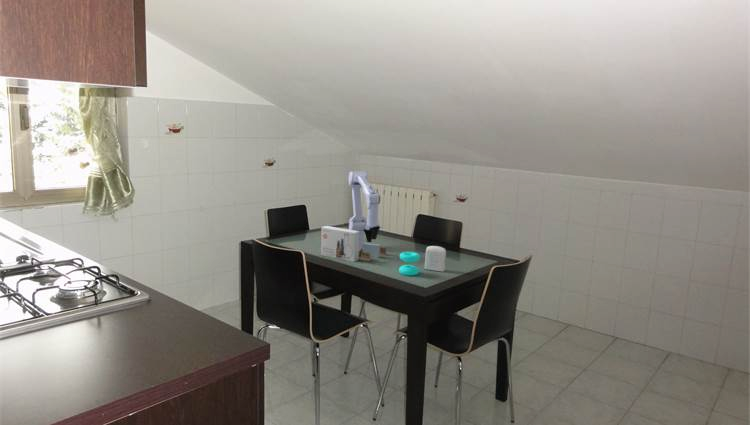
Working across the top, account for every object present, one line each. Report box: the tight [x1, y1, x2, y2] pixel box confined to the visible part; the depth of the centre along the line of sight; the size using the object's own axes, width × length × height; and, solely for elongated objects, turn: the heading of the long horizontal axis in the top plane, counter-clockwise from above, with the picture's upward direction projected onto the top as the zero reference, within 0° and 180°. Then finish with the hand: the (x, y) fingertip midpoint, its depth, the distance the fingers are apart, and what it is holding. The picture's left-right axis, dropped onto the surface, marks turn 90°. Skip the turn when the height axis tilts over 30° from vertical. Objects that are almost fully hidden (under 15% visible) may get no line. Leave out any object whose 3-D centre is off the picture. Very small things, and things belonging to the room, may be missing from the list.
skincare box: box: [320, 225, 360, 262], centre depth 287 cm, size 21×5×16 cm, turn 62°
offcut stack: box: [360, 251, 372, 261], centre depth 286 cm, size 2×5×4 cm, turn 70°
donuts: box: [398, 251, 421, 277], centre depth 264 cm, size 10×10×10 cm
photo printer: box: [424, 245, 447, 273], centre depth 271 cm, size 10×4×12 cm, turn 72°
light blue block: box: [362, 242, 381, 259], centre depth 293 cm, size 3×9×7 cm, turn 70°
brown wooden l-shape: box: [359, 246, 387, 257], centre depth 295 cm, size 12×14×4 cm
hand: (371, 240), depth 292 cm, fingers open, 7 cm apart
